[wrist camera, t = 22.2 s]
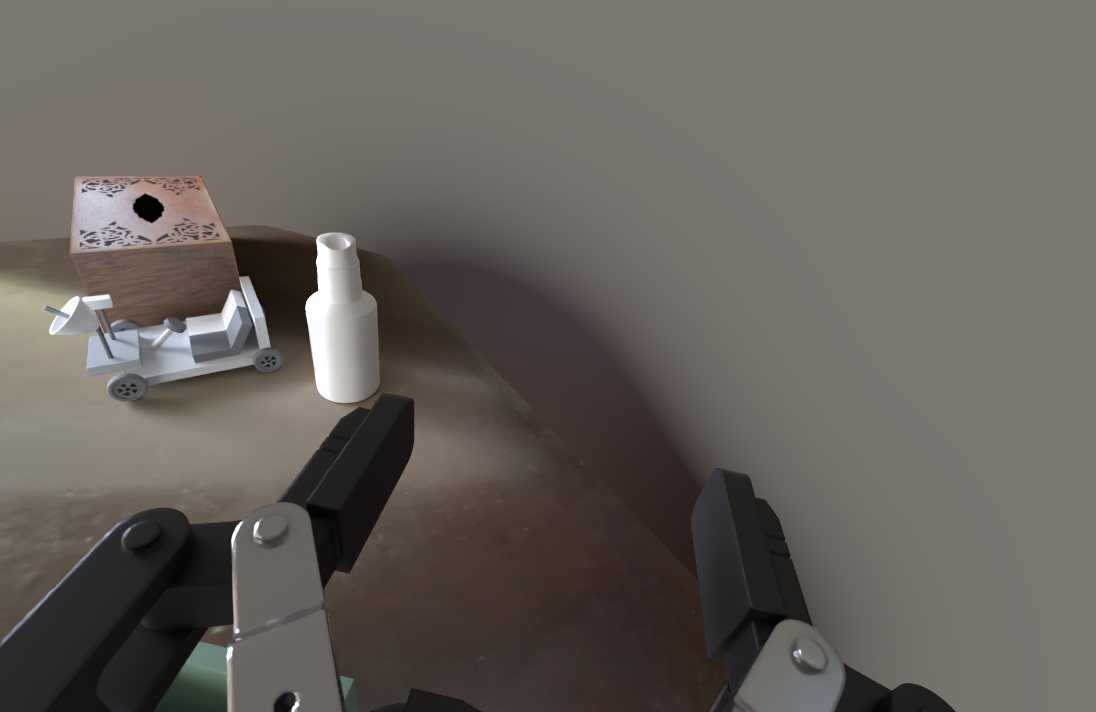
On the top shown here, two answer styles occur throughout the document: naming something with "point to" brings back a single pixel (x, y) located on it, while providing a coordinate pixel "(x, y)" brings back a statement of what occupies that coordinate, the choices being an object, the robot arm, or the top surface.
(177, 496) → the top surface
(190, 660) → the bin
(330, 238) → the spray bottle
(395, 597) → the top surface
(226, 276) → the tissue box cover
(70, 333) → the toy car
